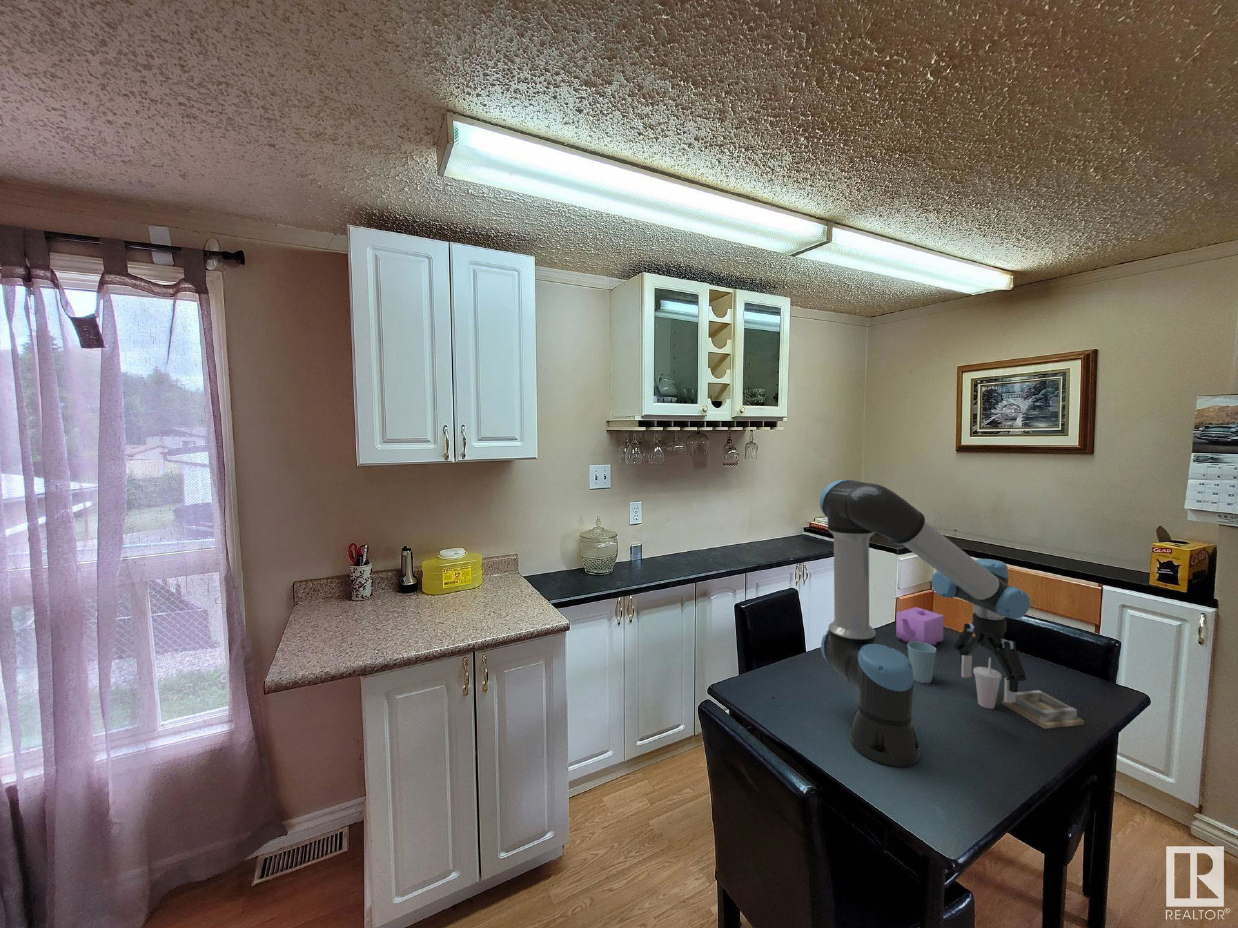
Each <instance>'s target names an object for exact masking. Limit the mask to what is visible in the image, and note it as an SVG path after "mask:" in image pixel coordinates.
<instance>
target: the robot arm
mask: <svg viewBox="0 0 1238 928" xmlns="http://www.w3.org/2000/svg"><path fill="white" fill-rule="evenodd" d="M819 507H820V511H821V513H823V515H824V516H825V517H827V531H829V532H830V533H831V535H832V536H833V585H834V586H833V591H834V593H833V596H834V598H833V599H834V601H833V606H834V611H833V614H834V615H833V616H834V619H833V621H832V622H830V623H829V624H828V629H827V630H826V632H825V633H826V634H823V636H822V638H821V643H820V651H821V654H822V656H823V658H824V661H826V663H827V664H828V665H829V667H830V668H831V669H832V670H834V672H836V673H837V674H838V675H840V676H841V677H842V678H844V679H845V680H846V681H847V682H848V683H849V684H850V685H851V686H853V687H854V688H855V689H856V690H857V691H858V692H857V711H856V713H855V716H854V719H853V722H852V723H851V724H850V728H849V741H850V744H851V745H852V747H853V748H854V749H855V750H856V751H857V752H859V754H861V755H862V754H863V755H862V756H864V757H866V758H867V757H868V758H867V759H869V760H871V759H872V761H873V760H874V761H873V762H876V763H878V762H879V764H881V763H882V765H886V766H889V765H890V766H891V767H897V768H898V767H899V768H900V767H901V768H902V767H905V768H906V767H910V766H913V765H915V764H917V763H918V762H919V760H920V756H921V755H920V753H921V752H920V751H921V750H920V744H919V741H918V740H919V739H918V738H917V734H916V731H915V729H914V725H913V700H914V698H913V697H914V695H913V694H914V682H915V680H914V677H913V668H912V664H911V662H910V661H909V657H907V656H906V655H905V654H904V653H902V651H899V650H897V649H896V648H893V647H888V645H884V644H881V643H880V644H879V643H877V642H876V641H877V640H876V639H877V638H876V637H877V635H876V630H875V629H874V628H873V627H872V626H871V625H870V538H871V537H872V536H873V535H874V534H878V535H881V536H882V537H885V538H886V539H888V540H889V541H890V542H892V543H893V544H895V545H899V546H900V545H903V546H904V547H906V548H907V549H908V550H909V551H911V552H912V553H913V554H915V555H916V556H917V557H919V558H920V559H921V560H922V561H924V562H925V563H927V564H928V565H929V566H930V567H932V568H934V570H936V571H935V572H934V573H933V574H932V577H931V584H932V589H933V590H934V592H935V593H936V594H937V595H939V597H942V598H949V599H953V598H957V599H960V600H964V601H965V602H968V603H970V604H972V612H973V614H972V622H969V623H968V622H967V623H964V625H963V629H962V632H961V633H960V636H959V637H958V638H957V640H956V642H955V643H954V647H953V648H954V650H957V651H958V652H959V654H960V657H959V663H960V665H961V668H960V669H961V671H960V673H961V675H960V677H961V678H963V679H964V678H972V674H973V673H972V672H973V671H972V670H973V655H972V652H973V651H974V650H975V649H977V648H978V647H980V646H981V647H982V648H983V647H984V648H986V649H987V650H989V651H991V652H992V654H993V655H994V656H995V657H996V659H997V660H998V663H999V664H1000V666H1001V668H1002V670H1003V672H1004V674H1005V675H1006V677H1004V689H1003V692H1004V693H1003V700H1004V702H1006V703H1010V702H1015V698H1016V692H1019V682H1022V681H1023V682H1024V681H1027V680H1028V679H1027V675H1026V673H1025V670H1024V668H1023V665H1022V661H1021V659H1020V657H1019V654H1018V652H1017V643H1016V641H1015V640H1007V639H1005V637H1004V635H1005V633H1006V631H1007V619H1006V618H1008V619H1012V620H1019V619H1021V618H1023V617H1025V616H1026V614H1027V613H1028V611H1029V609H1030V607H1031V601H1030V597H1029V595H1028V594H1027V592H1025V591H1024V590H1022V589H1020V588H1017V587H1016V586H1012V585H1009V579H1010V577H1009V569H1008V568H1009V567H1008V564H1006V563H1005V562H1004V561H1000V560H997V559H990V558H989V559H988V558H978V559H974V558H972V556H970V555H969V554H968V553H966V551H964V550H962V549H961V548H960V547H958V546H957V545H956V544H955V543H953V542H952V541H951V540H949V539H948V538H947V537H946V536H945V535H943V534H942V533H941V532H939V531H938V530H937V529H936V528H934V527H933V526H932V525H930V524H929V523H928V522H926V521H927V520H926V517H925V514H923V512H921V511H919V510H918V509H917V508H916V507H914V506H913V505H912V504H911V503H909V502H908V501H907V500H905V499H904V498H903V497H901V496H900V495H898V494H897V493H896V492H894V491H893V490H891V489H889V488H887V487H885V486H883V485H881V484H877V483H871V482H869V483H868V482H863V481H858V480H855V479H840V480H839V479H838V480H835V481H833V482H831V483H830V484H828V485H827V487H825V488H824V489H823V491H822V493H821V495H820V498H819ZM973 635H974V637H973V638H972V636H973Z"/></svg>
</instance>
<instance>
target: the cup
mask: <svg viewBox="0 0 1238 928" xmlns="http://www.w3.org/2000/svg"><path fill="white" fill-rule="evenodd" d="M907 654H908V659H909V661H910V662H911V664H912V668H913V677H914V682H918V683H921V684H931V683H932V680H933V675H934V668H935V661H936V655H937V648H936V647H935V645H931V644H927V643H922V642H907Z"/></svg>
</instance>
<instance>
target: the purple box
mask: <svg viewBox="0 0 1238 928" xmlns="http://www.w3.org/2000/svg"><path fill="white" fill-rule="evenodd" d="M895 619H896V620H895V621H896V626H895V627H896V628H895V630H896V631H895V636H896V637H897V638H899V639H901V641H902V642H904V643H909V642H922V643H927V644H930V645H932V646H937V645H938V644H937V643H938V642H939V643H940V642H941V641H944V627H945V626H944V624H945V623H944V621H945V620H944V619H945V615H943V614H939V613H937V612H933V611H930V610H927V609H924V608H920V607H917V606H915V607H911V608H908V609H904V610H901V611H900V610H899V611H897V612H896V618H895Z"/></svg>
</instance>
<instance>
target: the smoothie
mask: <svg viewBox="0 0 1238 928" xmlns="http://www.w3.org/2000/svg"><path fill="white" fill-rule="evenodd" d="M987 666H988V667H987ZM987 666H985V667H984V666H975V667H973V671H972V672H973V673H972V674H974V679H975V686H976V694H977V695H976V696H977V703H978V706H980V707H982V708H984V709H990V710H992V709H993V710H994V709H995V706H996V703H997V697H998V692H999V687H1000V683H1001V681H1002V679H1003V677H1002V673H1000V672H999V671H998V670H995V669H994V668H992V657H991V656H990V657H988V665H987Z"/></svg>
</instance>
